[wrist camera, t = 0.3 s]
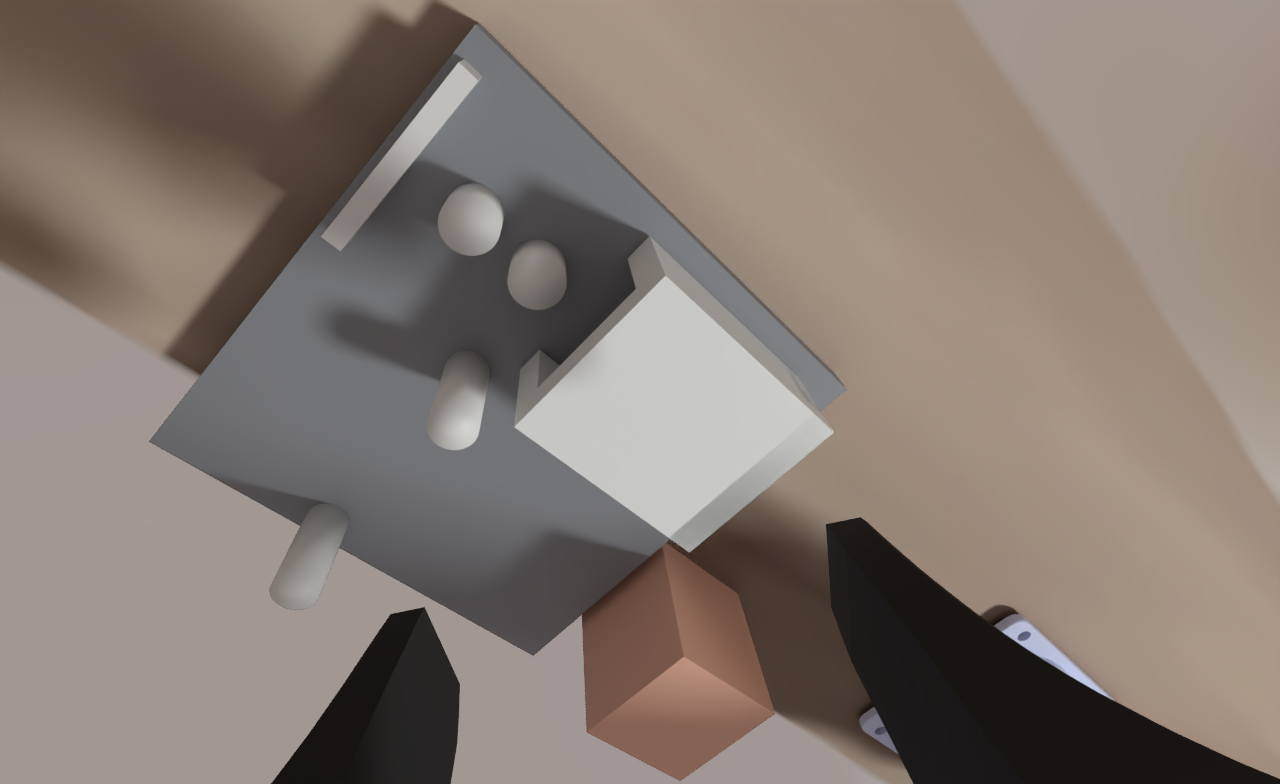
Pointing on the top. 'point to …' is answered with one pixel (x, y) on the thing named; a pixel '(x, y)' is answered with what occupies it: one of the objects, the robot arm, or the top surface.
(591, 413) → the cover
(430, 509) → the deck
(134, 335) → the top surface
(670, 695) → the block
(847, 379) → the top surface
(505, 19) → the top surface
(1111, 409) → the top surface
